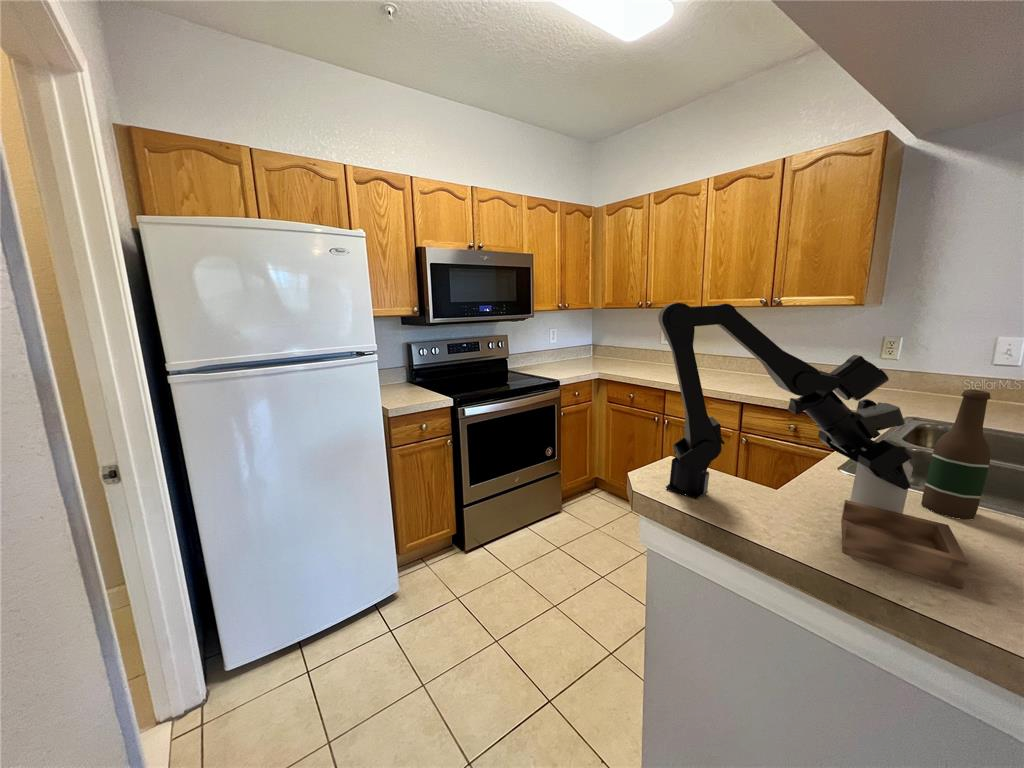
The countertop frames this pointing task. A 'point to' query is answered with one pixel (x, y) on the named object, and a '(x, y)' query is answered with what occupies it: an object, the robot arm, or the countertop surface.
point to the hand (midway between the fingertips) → (890, 477)
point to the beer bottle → (960, 462)
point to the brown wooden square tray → (903, 543)
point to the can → (879, 490)
